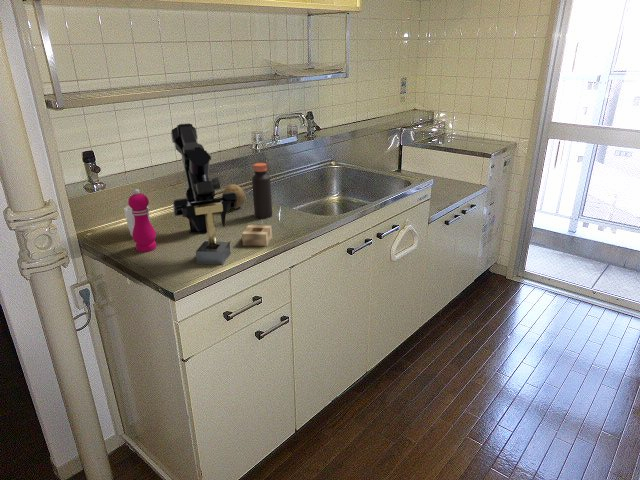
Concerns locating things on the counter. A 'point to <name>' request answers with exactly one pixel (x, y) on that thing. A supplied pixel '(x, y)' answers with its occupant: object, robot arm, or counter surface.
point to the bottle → (261, 191)
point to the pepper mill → (142, 223)
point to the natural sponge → (239, 193)
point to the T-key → (209, 220)
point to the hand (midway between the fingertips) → (211, 228)
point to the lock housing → (213, 253)
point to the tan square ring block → (257, 235)
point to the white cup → (131, 218)
